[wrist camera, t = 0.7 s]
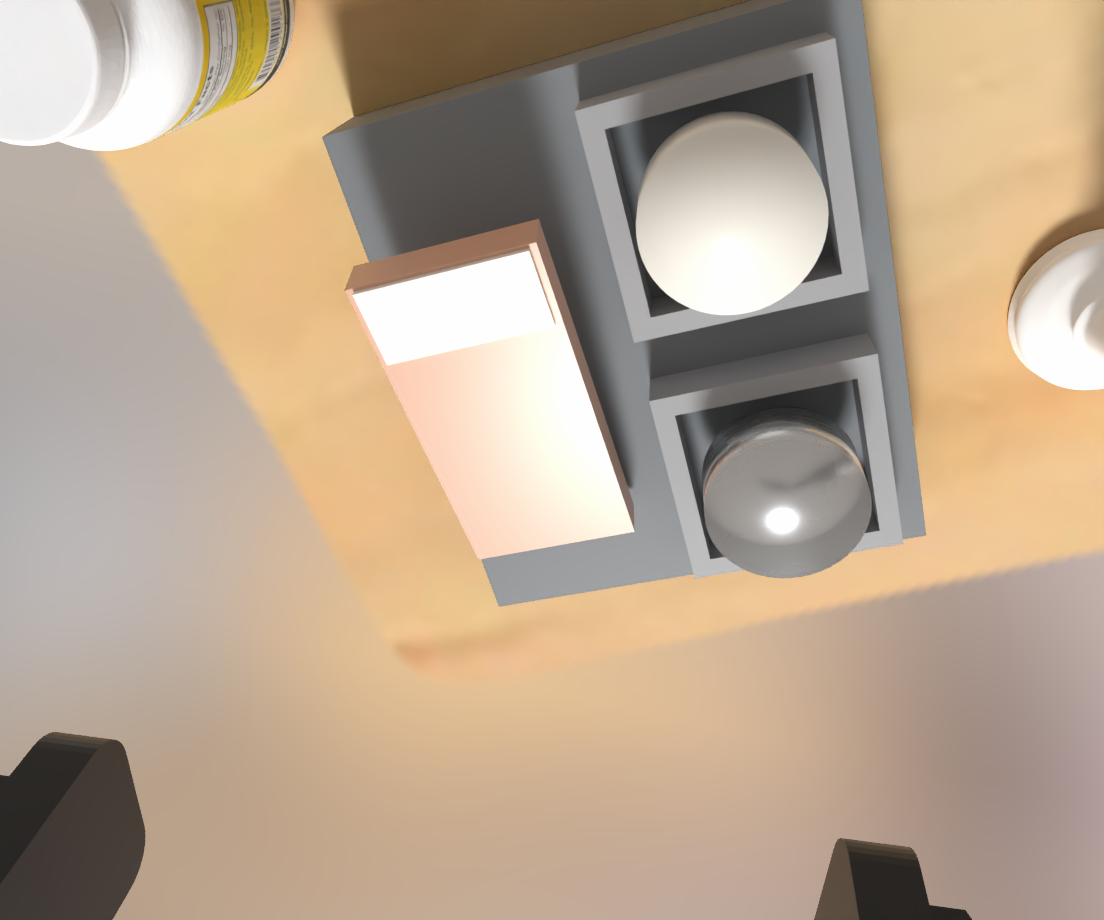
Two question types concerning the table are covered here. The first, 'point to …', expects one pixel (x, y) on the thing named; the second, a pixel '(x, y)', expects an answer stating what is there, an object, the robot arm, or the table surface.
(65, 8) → the supplement bottle
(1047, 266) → the chess piece
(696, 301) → the white button
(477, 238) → the rocker
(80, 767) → the robot arm
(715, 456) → the metal button
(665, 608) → the table surface
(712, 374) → the panel
